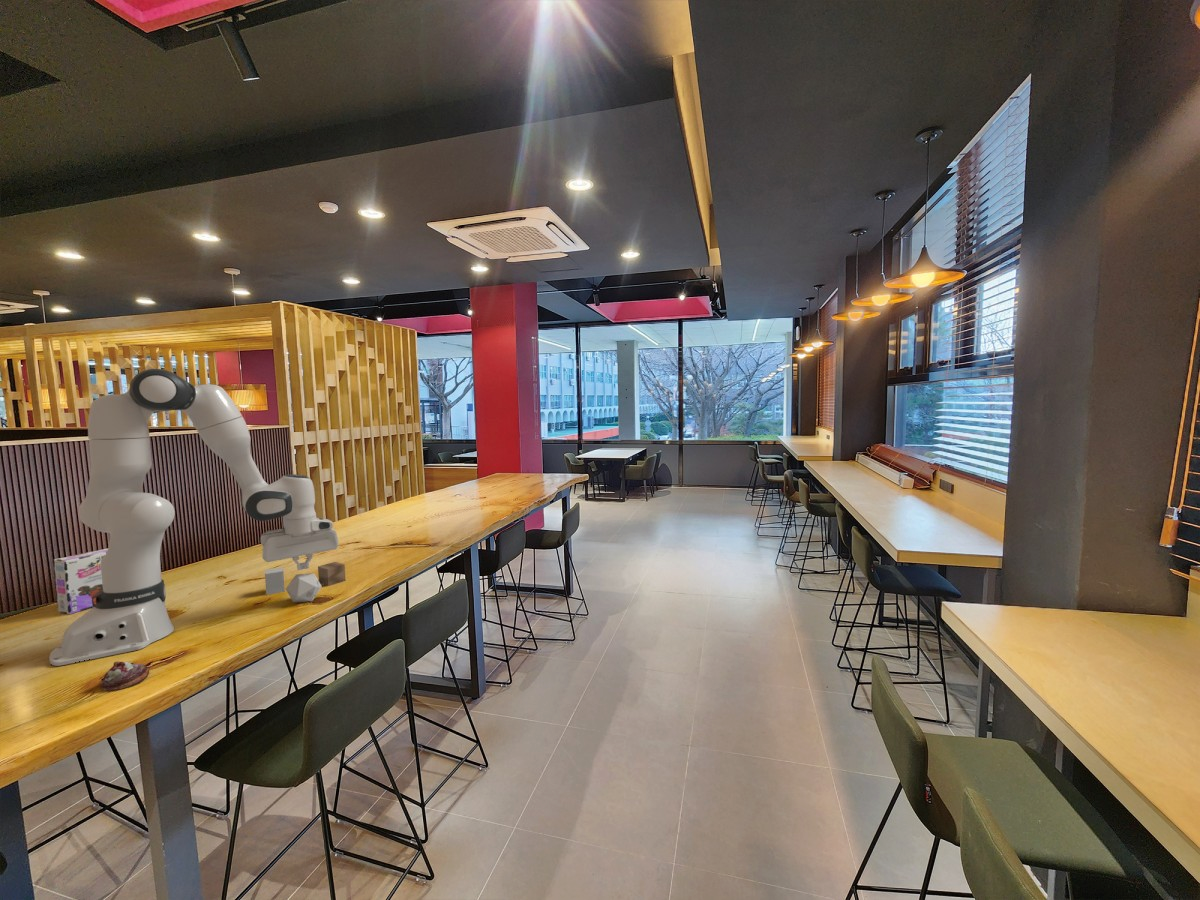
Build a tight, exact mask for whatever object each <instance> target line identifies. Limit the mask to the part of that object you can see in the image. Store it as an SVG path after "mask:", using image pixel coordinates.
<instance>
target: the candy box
mask: <svg viewBox="0 0 1200 900" xmlns="http://www.w3.org/2000/svg"><path fill="white" fill-rule="evenodd" d="M107 550H108V548H104V549H98V550H94V551H88V552H85V553H79V554H75V555H69V556H66V557H60V558H59V557H58V558H54V559H53V566H54V579H55V588H56V590H55V591H56V600H57V601H56V602H57V612H58V613H62V614H67V615H72V614H75V613H79V612H82V611H86V610H91V609H92V608H93V605H92V599H91V597H90V596H91V593H93V591H95V590H100V591H102V590H103V585H102V574H101V564H100V563H101V560H102V558H103V557H104V556H105V555H106V553H107Z"/></svg>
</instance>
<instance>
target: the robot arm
mask: <svg viewBox="0 0 1200 900" xmlns="http://www.w3.org/2000/svg"><path fill="white" fill-rule="evenodd" d="M170 411H179V412H180V411H181V412H183V413H184V414H185V415H186V416H187V417H188V418H189V419H190V421H191V422H192V425H193V426H194V428H195V430H196V432H197V433H198V435H199V437H200V438H201V439H202V441H203V442H204V443H205V445H206V446H207V447H208V448H209V450H211V452H212V453H214V454H215V455H216V456H217V457H219V458H221V460H223V462H224V463H225V464H226V465H227V467H228V468H229V470H230V472H231V474H232V475H233V478H235V481H236V483H237V485H238V486H239V488H240V503H241V507H242V509H243V511H245V512H246V514H247V515H248V516H249V517H250V518H251V519H253V520H255V521H258V522H259V521H260V522H267V521H272V520H275V519H279V518H281V517H282V525H283V528H279V529H278V528H277V529H273V530H271V529H270V530H266V531H265V532H264V533H262V534H261V535H260V538H259V539H260V544H261V546H262V556H261V557H262V559H263V560H264V561H265V562H267V563H269V562H270V563H271V562H275V561H281V560H286V559H292V561H293V562H294V563H295V564H296V569H297V571H301V570H306V569H309V568H310V562H311V560H312V559H313V555H314V554H319V553H323V552H328V551H334V550H337V548H338V547H339V537H338V533H337V531H336V529H335V528H334V522H333V521H332V520H330V519H327V518H323V517H321V518H320V517H317V512H316V510H315V503H316V495H315V493H316V491H315V487H314V486H315V485H314V482H313V480H312V479H311V478H310V477H308V476H306V475H304V474H303V475H302V474H297V473H294V474H293V473H290V474H289V473H288V474H285V475H283V476H281V477H280V478H279V479H277V480H276V481H274V482H272V483H270V484H269V483H268V482H266V480H265V479H264V477H263V476H262V474H261V472H260V470H259V467H258V466H257V464H256V463H255V461H254V459H253V456H252V453H251V438H252V437H251V435H250V430H249V428H248V425H247V423H246V419H245V418H244V416H243V414H242V413H241V411H240V409H239V408H238V406H237V405H236V402H234V400H233V399H232V398H231V396H230V395H229V393H228V392H227V391H226V390H225V389H224V388H223V387H222V386H220V385H217V384H210V383H207V384H200V385H193V384H192V383H190V382H188V381H186V380H185V379H184V378H182V377H181V376H180V375H178V374H177V373H174V372H172V371H170V370H167V369H163V368H148V369H146V370H145V369H144V370H142V371H140V372H138V373H136V374H135V375H134V376H133V378H132V379H131V380H130V382H129V389H128V390H127V391H126V392H124V393H118V394H117V393H116V394H115V393H114V394H113V393H112V394H106V395H102V396H99V397H97V398H95V399H94V400H93V401H92V402H91V404H90V407H89V413H88V420H87V421H88V425H87V437H88V438H87V439H88V447H89V460H90V476H89V482H88V486H87V491H86V495H85V497H84V499H83V500H82V502H81V503H80V504H79V507H78V512H77V515H78V518H79V520H80V521H81V522H82V523H83V524H84V525H85V526H87V527H88V528H90V529H93V530H94V531H96V532H101V533H108V534H109V542H108V550H107V553H106V555H105V556H104V557H103V558H102V560H101V563H100V564H101V574H102V585H103V590H102V591H100V590H95V591H93V593H91V596H90V597H91V599H92V605H93V608H90V609H88V611H87V612H86V613H84V614H83V615H81V616H80V617H79V618H78V619H76V620H75V621H73V622H72V623H71V624H69V625H68V626H67V627H66V629H65V631H64V634H63V635H62V639H61V640H62V641H61V644H59V645H58V646H56V647H55V648H54V649H52V651H51V652H50V654H49V658H48V662H50V663H49V664H50V665H51V664H52V666H55V667H57V666H58V667H60V666H64V665H70V664H75V662H76V663H79V661H80V662H84V660H85V661H88V660H89V659H90V660H93V659H100V658H104V657H109V656H113V655H119V654H124V653H129V652H133V651H134V652H135V651H138V650H142V649H143V648H146V647H147V646H149V645H151V643H154V642H156V641H158V640H162V639H163V638H166V637H167V636H169V635H170V634H171V633H173V632H174V630H175V628H174V625H173V623H172V622H171V619H170V617H169V614H168V611H167V610H168V609H167V606H166V602H165V601H166V597H167V593H166V592H167V591H166V584H165V580H164V579H163V578H162V569H161V568H162V566H161V548H162V544H163V539H164V537H165V536H164V535H165V532H166V530H167V529H168V528H169V527H170V526H171V524H172V523H173V521H174V519H175V515H176V514H175V513H176V511H175V507H174V505H173V504H172V503H171V502H170V501H169V500H168V499H166V498H164V497H162V496H159V495H157V494H154V493H149V492H143V486H144V481H145V479H146V475H147V473H149V472H150V470H151V469H152V466H153V465H152V463H153V462H152V451H151V440H150V439H151V438H150V429H149V422H150V418H151V416H152V415H153V414H157V413H161V412H170ZM302 556H305V557H306V559H305V561H304V562H299V561H298V560H300V557H302ZM90 660H89V661H90Z"/></svg>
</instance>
